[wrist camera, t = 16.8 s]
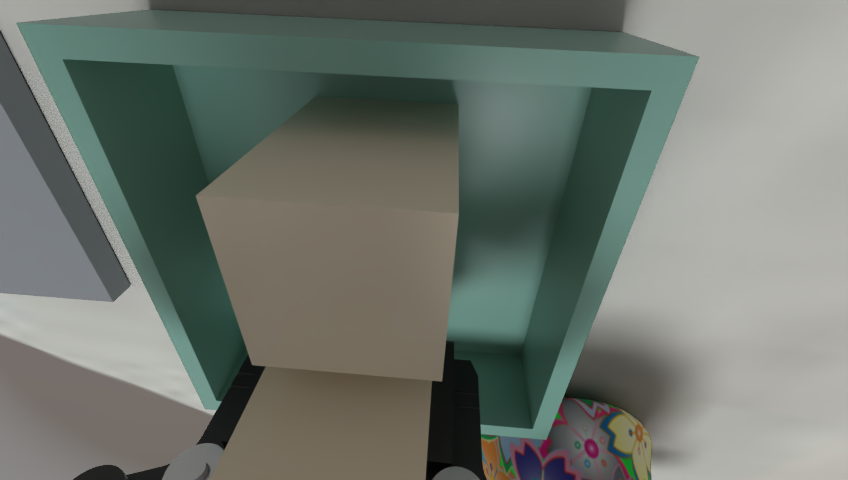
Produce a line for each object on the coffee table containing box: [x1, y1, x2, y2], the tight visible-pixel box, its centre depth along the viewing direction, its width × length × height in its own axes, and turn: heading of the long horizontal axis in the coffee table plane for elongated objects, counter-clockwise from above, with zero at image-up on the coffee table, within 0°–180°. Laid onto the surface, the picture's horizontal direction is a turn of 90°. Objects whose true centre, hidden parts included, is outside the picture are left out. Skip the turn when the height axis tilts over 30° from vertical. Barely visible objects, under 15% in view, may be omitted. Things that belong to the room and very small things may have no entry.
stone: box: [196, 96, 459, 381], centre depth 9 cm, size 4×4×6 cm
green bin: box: [17, 10, 699, 440], centre depth 12 cm, size 13×13×4 cm
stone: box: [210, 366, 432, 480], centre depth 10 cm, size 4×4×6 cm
